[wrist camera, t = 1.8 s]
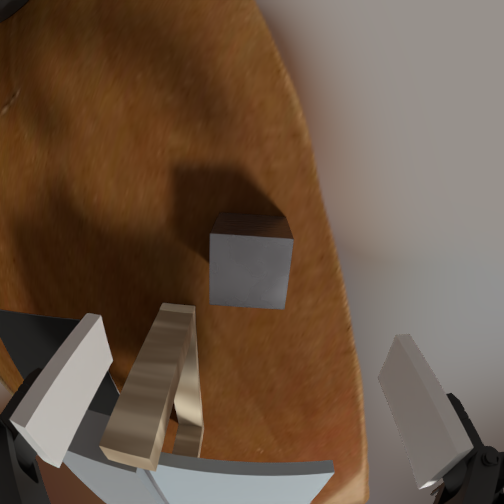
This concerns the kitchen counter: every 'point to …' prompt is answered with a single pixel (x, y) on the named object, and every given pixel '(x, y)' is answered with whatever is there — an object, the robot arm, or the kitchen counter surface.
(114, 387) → the tablet
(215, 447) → the kitchen counter surface
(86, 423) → the trapdoor
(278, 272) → the block
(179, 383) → the frame
